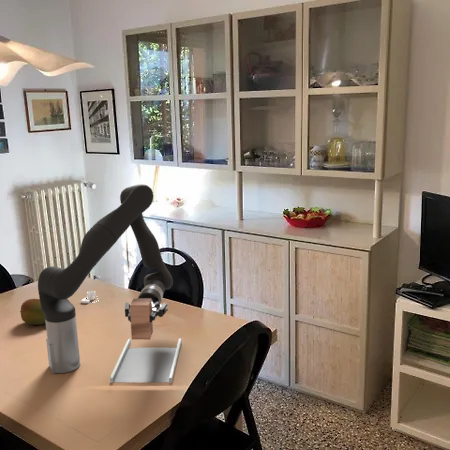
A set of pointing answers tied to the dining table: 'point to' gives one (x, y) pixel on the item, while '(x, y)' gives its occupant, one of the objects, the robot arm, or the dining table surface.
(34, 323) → the fruit
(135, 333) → the terracotta block
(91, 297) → the teacup and saucer
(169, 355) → the track
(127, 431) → the dining table surface
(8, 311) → the dining table surface
